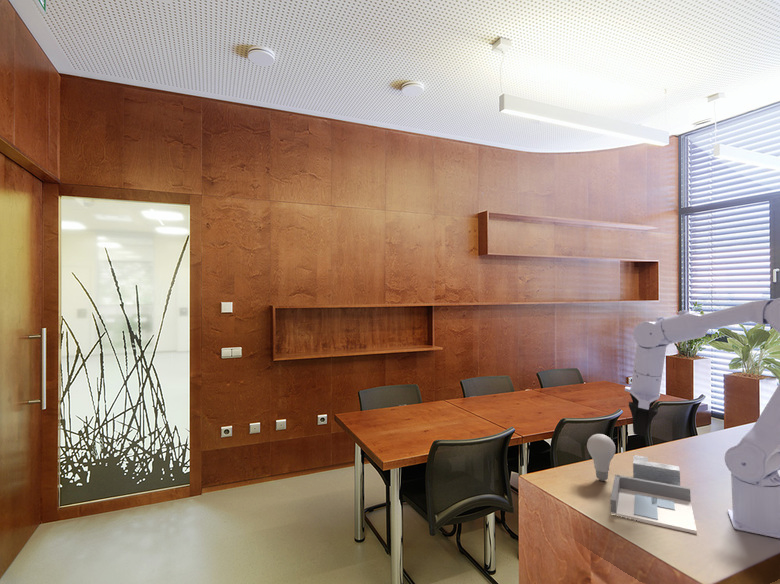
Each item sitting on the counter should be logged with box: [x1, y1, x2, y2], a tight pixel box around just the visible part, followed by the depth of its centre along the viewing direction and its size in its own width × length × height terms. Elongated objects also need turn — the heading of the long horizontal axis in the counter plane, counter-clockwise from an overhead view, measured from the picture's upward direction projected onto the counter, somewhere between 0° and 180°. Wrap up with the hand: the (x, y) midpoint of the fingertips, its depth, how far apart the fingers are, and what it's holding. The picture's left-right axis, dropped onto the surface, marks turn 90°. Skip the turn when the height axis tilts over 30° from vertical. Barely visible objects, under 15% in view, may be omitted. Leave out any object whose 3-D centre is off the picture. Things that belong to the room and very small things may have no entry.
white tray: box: [609, 474, 698, 535], centre depth 86 cm, size 14×14×3 cm
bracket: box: [632, 454, 681, 486], centre depth 98 cm, size 9×6×5 cm, turn 58°
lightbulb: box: [586, 433, 617, 482], centre depth 100 cm, size 6×6×11 cm
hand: (639, 429), depth 98 cm, fingers open, 7 cm apart
